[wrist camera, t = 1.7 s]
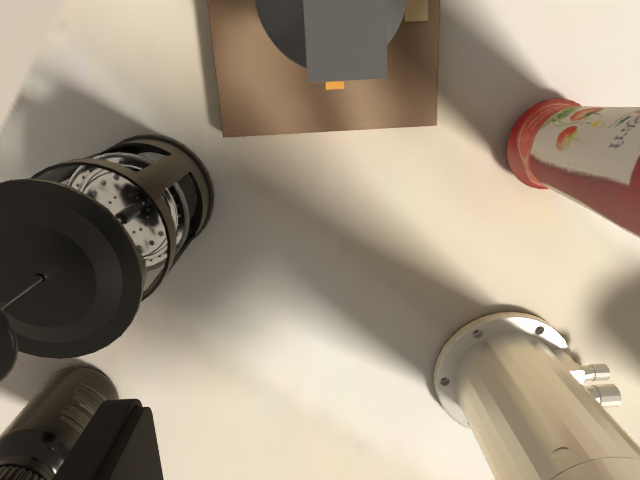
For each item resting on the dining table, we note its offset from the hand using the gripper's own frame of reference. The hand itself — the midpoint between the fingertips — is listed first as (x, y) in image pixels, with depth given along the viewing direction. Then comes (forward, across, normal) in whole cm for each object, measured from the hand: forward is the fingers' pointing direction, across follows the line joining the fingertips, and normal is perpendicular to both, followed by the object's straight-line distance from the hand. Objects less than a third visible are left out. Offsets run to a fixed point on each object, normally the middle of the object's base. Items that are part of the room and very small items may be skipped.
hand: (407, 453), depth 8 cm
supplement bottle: (+31, +24, +20) cm, 44 cm away
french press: (+31, +14, +2) cm, 34 cm away
